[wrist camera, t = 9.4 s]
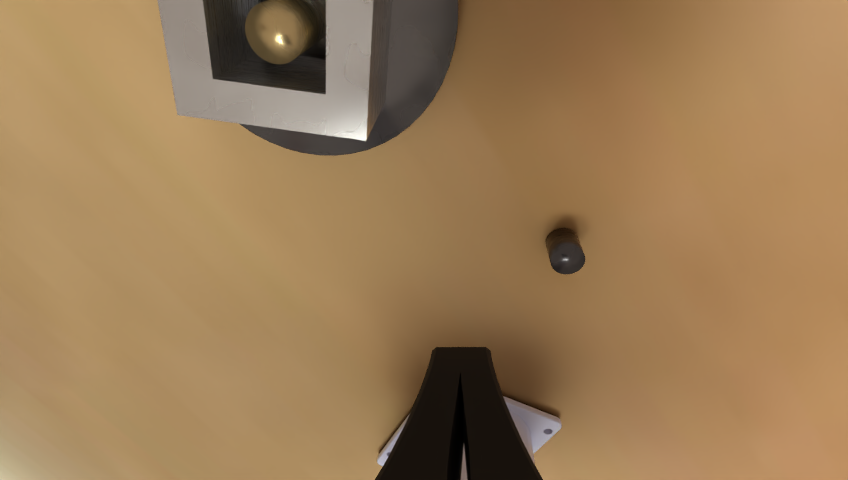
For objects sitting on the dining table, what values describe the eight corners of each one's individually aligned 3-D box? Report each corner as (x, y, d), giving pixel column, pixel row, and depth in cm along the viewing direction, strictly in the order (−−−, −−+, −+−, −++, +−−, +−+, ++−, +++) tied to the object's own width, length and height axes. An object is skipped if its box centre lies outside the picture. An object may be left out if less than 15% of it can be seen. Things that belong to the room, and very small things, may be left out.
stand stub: (565, 258, 22) (572, 278, 20) (539, 247, 21) (544, 266, 20) (584, 236, 21) (591, 255, 20) (557, 223, 21) (563, 241, 19)
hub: (390, 184, 20) (373, 241, 16) (156, 76, 18) (76, 112, 15) (513, -67, 15) (530, -69, 11) (205, -251, 13) (102, -326, 9)
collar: (385, 101, 17) (366, 140, 14) (233, 80, 17) (177, 114, 14) (398, -84, 14) (377, -90, 11) (213, -109, 14) (136, -124, 11)
